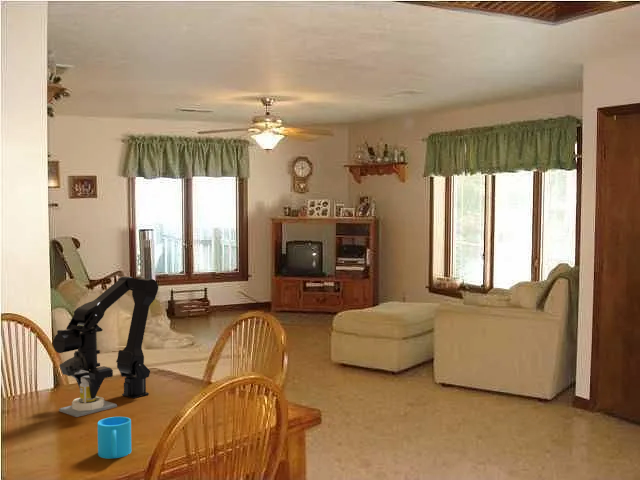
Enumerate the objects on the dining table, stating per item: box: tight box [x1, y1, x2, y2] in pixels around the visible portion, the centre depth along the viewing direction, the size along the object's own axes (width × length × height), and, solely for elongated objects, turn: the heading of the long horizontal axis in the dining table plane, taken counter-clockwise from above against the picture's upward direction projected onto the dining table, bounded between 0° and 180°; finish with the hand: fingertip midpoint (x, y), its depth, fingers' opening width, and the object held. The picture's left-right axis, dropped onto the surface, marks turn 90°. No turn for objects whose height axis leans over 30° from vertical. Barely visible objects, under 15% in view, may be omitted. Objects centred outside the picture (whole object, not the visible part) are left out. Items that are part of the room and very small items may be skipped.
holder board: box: [58, 395, 118, 418], centre depth 214 cm, size 14×10×3 cm
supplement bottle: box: [79, 376, 97, 403], centre depth 214 cm, size 5×5×8 cm
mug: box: [97, 416, 132, 459], centre depth 173 cm, size 12×8×8 cm
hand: (88, 397), depth 214 cm, fingers closed on supplement bottle, 5 cm apart
